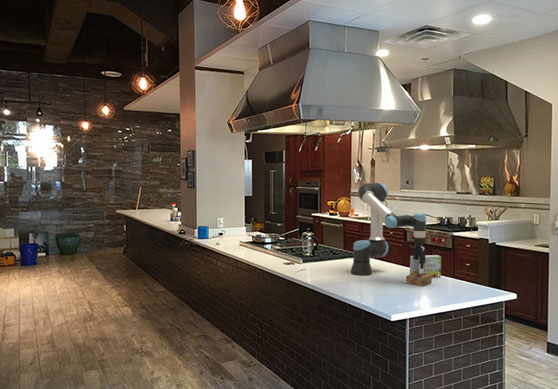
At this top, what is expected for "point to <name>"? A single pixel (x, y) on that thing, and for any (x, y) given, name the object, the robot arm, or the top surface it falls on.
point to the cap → (417, 264)
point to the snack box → (429, 265)
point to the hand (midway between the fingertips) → (418, 272)
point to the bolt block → (418, 279)
